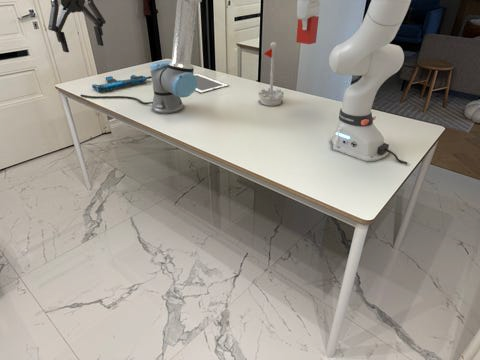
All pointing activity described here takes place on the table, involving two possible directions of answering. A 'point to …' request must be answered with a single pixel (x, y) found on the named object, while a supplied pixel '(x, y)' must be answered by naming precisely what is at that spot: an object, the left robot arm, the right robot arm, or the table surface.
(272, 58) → the flag stand
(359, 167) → the table surface
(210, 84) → the tablet
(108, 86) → the submachine gun
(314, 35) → the block
